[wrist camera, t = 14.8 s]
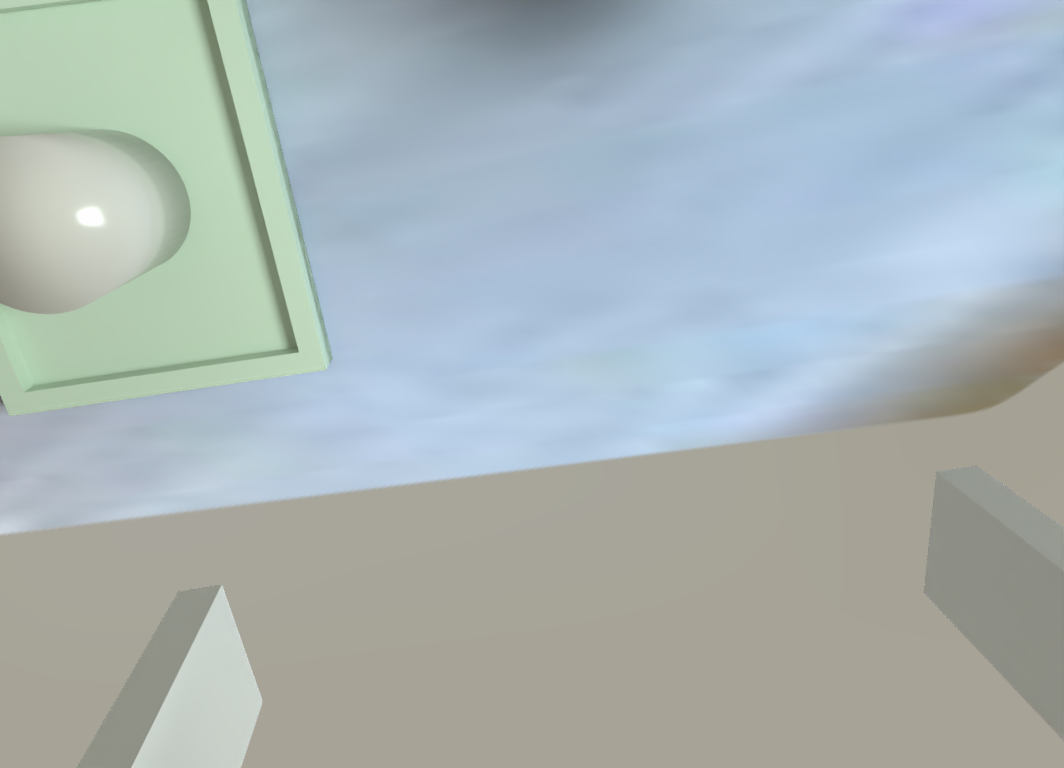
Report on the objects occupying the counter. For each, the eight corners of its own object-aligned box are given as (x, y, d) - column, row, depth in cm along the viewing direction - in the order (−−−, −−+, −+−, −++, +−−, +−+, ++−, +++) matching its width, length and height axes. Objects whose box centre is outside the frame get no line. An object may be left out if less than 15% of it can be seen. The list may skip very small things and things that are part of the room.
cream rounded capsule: (19, 139, 34) (-102, 149, 27) (166, 120, 35) (86, 125, 27) (71, 280, 37) (-25, 325, 30) (208, 261, 37) (145, 301, 30)
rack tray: (-138, 3, 33) (-174, -2, 31) (235, -42, 33) (222, -51, 32) (30, 401, 40) (9, 416, 38) (332, 357, 41) (326, 369, 39)
